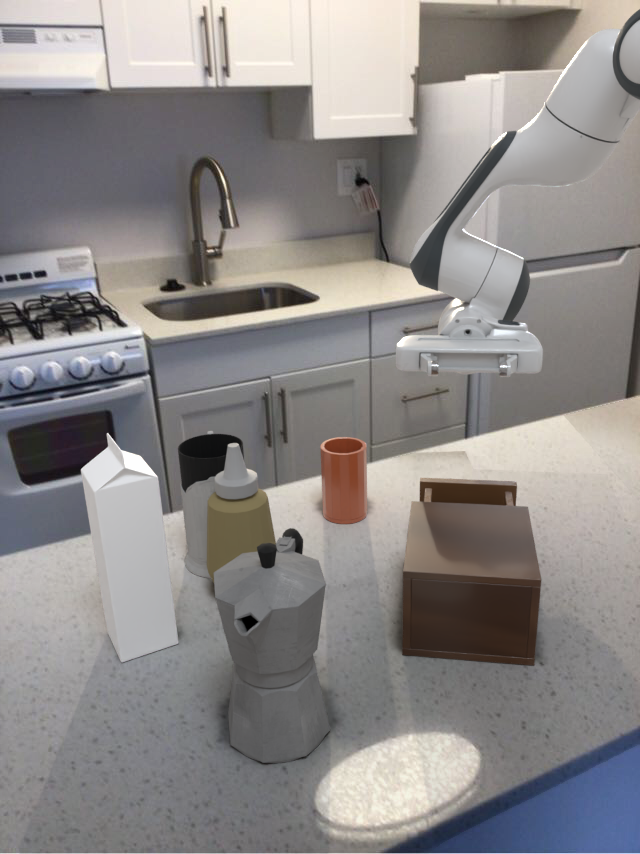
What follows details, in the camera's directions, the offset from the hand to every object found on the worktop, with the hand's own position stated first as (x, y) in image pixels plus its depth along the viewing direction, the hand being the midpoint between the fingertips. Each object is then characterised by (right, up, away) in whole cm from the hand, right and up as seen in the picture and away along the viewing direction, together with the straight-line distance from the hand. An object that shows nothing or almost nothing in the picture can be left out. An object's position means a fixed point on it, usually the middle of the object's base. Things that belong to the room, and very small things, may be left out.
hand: (468, 371), depth 100 cm
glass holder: (-32, -23, -5) cm, 40 cm away
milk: (-38, -29, -22) cm, 53 cm away
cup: (-16, -19, +2) cm, 25 cm away
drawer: (-2, -23, -11) cm, 25 cm away
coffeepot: (-23, -33, -33) cm, 52 cm away
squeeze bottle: (-28, -26, -14) cm, 41 cm away
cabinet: (-4, -27, -20) cm, 34 cm away
